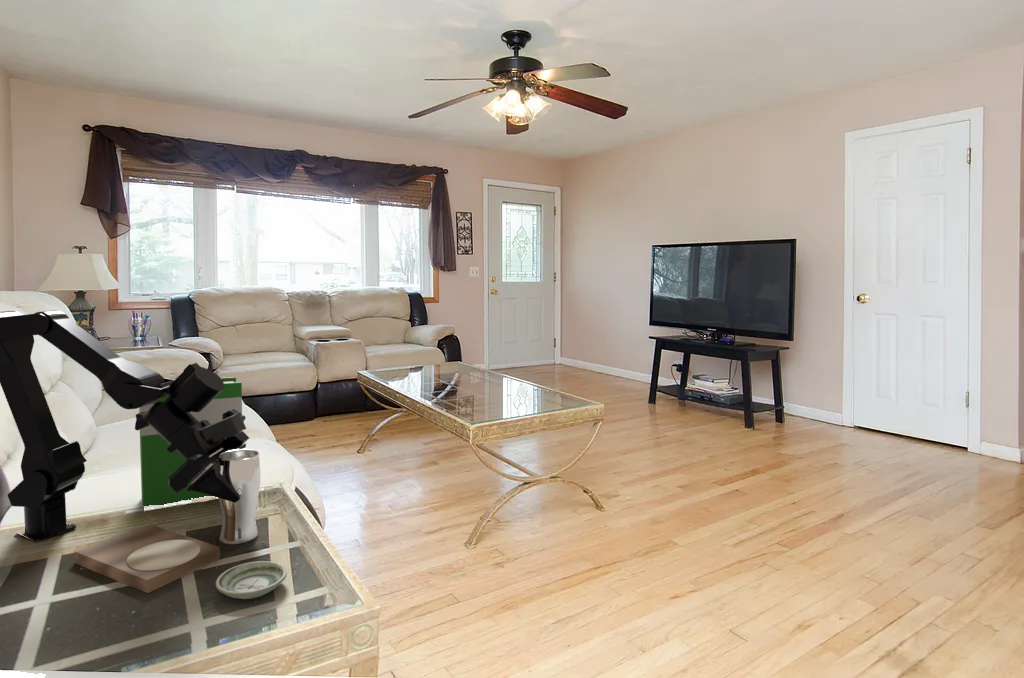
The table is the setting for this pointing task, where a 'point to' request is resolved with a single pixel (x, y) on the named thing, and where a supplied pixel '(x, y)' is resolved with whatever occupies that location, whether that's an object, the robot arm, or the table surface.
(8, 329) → the robot arm
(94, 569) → the walnut base
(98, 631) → the table surface
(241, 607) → the table surface
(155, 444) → the hardback book
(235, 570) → the saucer
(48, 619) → the table surface
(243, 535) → the metal tumbler
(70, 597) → the table surface
